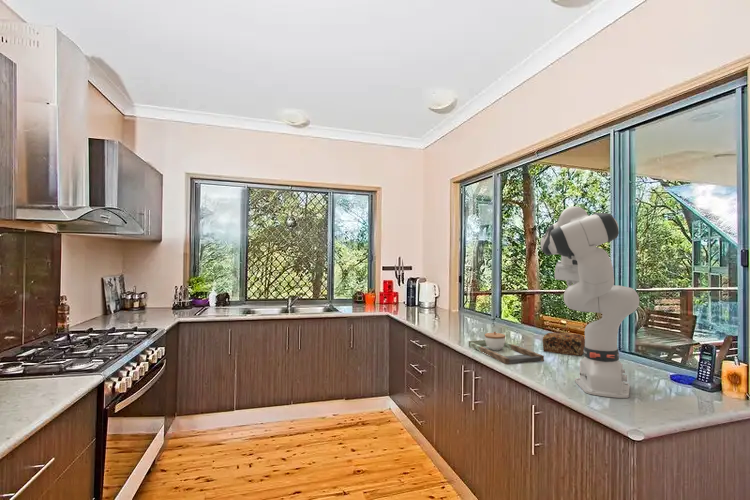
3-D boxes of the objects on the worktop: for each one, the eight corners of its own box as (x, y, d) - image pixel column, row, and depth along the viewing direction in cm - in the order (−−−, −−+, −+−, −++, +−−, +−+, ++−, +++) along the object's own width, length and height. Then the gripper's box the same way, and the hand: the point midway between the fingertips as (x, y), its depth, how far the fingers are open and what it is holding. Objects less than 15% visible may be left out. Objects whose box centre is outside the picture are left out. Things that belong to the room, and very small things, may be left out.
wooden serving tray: (543, 361, 188) (543, 354, 188) (506, 364, 183) (506, 357, 183) (500, 344, 225) (500, 338, 225) (468, 346, 220) (468, 341, 220)
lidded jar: (481, 347, 217) (481, 330, 217) (498, 346, 220) (498, 329, 220) (491, 352, 207) (491, 334, 207) (509, 350, 209) (509, 333, 209)
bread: (585, 352, 203) (585, 333, 203) (581, 357, 195) (580, 337, 195) (547, 347, 215) (547, 329, 215) (542, 351, 207) (541, 332, 207)
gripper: (551, 260, 193) (551, 289, 193) (582, 261, 173) (582, 292, 173) (562, 260, 194) (562, 288, 194) (594, 261, 174) (594, 292, 174)
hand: (572, 290), depth 183 cm, fingers closed
